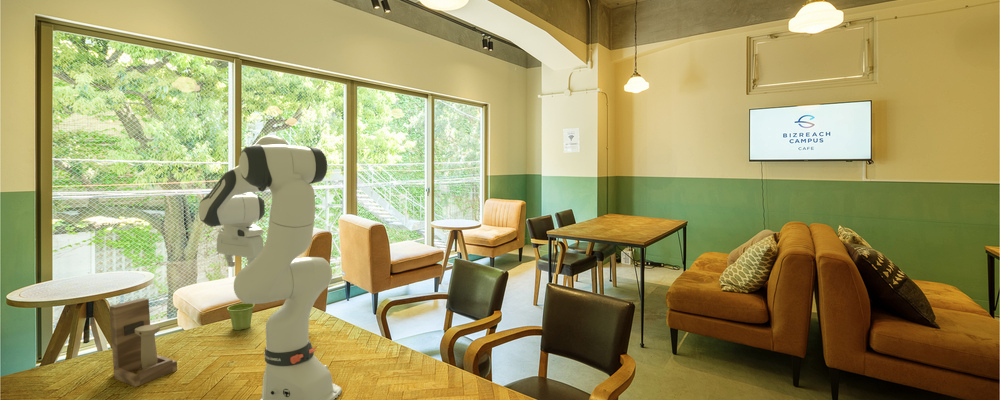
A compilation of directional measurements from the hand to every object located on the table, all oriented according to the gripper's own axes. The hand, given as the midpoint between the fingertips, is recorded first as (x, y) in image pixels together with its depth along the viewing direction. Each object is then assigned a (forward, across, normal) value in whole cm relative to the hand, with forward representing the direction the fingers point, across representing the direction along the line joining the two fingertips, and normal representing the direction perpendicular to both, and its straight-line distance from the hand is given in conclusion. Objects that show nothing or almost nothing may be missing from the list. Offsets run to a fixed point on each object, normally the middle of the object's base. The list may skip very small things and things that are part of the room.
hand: (240, 268), depth 153 cm
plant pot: (+29, -18, +12) cm, 36 cm away
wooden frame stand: (+29, -10, -26) cm, 40 cm away
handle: (+29, -8, -25) cm, 40 cm away
